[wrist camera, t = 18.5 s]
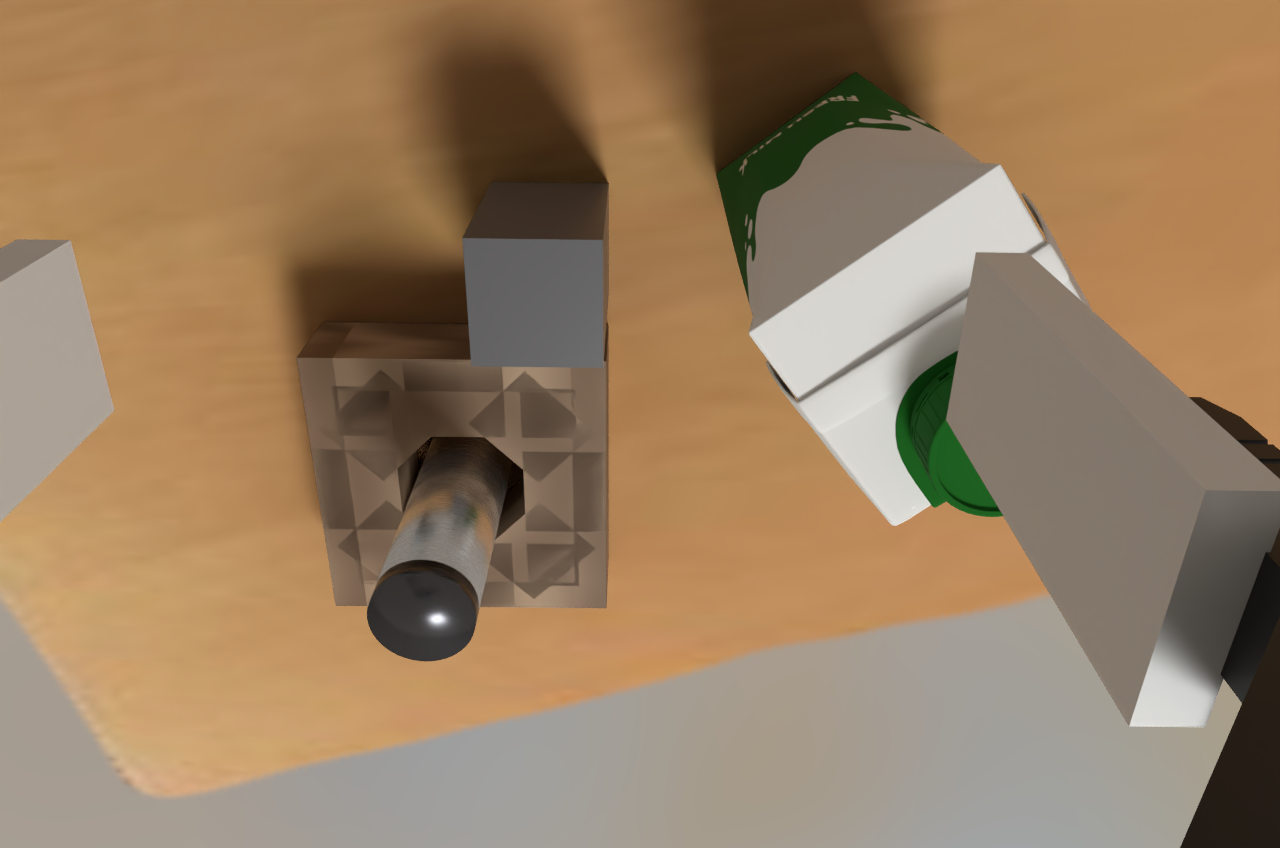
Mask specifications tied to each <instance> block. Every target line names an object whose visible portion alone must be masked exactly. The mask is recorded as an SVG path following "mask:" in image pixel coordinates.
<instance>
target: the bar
mask: <svg viewBox="0 0 1280 848" xmlns="http://www.w3.org/2000/svg"><path fill="white" fill-rule="evenodd" d="M462 239H463V253H464V268H465V282H466V296H467V311H468V325H469V339H470V354H471V366H486V367H567V368H603V365H604V351H605V337H606V323H607V309H608V295H609V183H542V182H491V183H490V185H489V187H488V189H487V191H486V193H485V195H484V197H483V199H482V201H481V203H480V205H479V207H478V209H477V211H476V213H475V215H474V217H473V219H472V220H471V222H470V224H469V226H468V228H467V230H466V232H465V234H464V236H463V238H462Z"/></svg>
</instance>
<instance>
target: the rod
mask: <svg viewBox="0 0 1280 848" xmlns="http://www.w3.org/2000/svg"><path fill="white" fill-rule="evenodd" d="M512 463H513V461H512V460H511V459H510V458H508V457H507V456H506V455H505V454H504V453H503V452H501V451H500V450H499V449H498V448H497V447H495V446H494V445H493V444H492V443H491V442H489V441H488V440H487V439H486V438H485V437H433V438H432V441H431V444H430V446H429V449H428V451H427V454H426V457H425V459H424V462H423V464H422V467H421V470H420V472H419V475H418V477H417V480H416V482H415V485H414V488H413V490H412V493H411V495H410V498H409V501H408V503H407V506H406V508H405V511H404V514H403V516H402V519H401V521H400V524H399V526H398V529H397V532H396V534H395V537H394V539H393V542H392V545H391V547H390V550H389V552H388V555H387V558H386V560H385V563H384V565H383V568H382V570H381V573H380V576H379V578H378V581H377V583H376V586H375V589H374V591H373V594H372V596H371V599H370V602H369V605H368V609H367V620H368V624H369V627H370V629H371V631H372V633H373V635H374V636H375V637H376V639H377V640H378V641H379V642H380V643H381V644H382V645H383V646H384V647H386V648H387V649H388V650H390V651H391V652H393V653H395V654H397V655H399V656H402V657H404V658H408V659H411V660H417V661H436V660H441V659H445V658H448V657H451V656H453V655H455V654H457V653H458V652H460V651H461V650H462V649H463V648H464V647H465V646H466V645H467V644H468V643H469V642H470V640H471V638H472V636H473V633H474V630H475V626H476V621H477V617H478V612H479V608H480V604H481V599H482V595H483V591H484V586H485V582H486V577H487V573H488V569H489V564H490V560H491V555H492V551H493V547H494V542H495V538H496V534H497V529H498V525H499V520H500V516H501V512H502V507H503V503H504V498H505V494H506V490H507V485H508V481H509V477H510V472H511V468H512Z"/></svg>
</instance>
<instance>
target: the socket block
mask: <svg viewBox="0 0 1280 848" xmlns="http://www.w3.org/2000/svg"><path fill="white" fill-rule="evenodd" d="M297 363H298V370H299V376H300V382H301V389H302V395H303V401H304V408H305V414H306V420H307V427H308V433H309V439H310V446H311V452H312V458H313V465H314V471H315V477H316V484H317V490H318V496H319V503H320V509H321V515H322V522H323V528H324V534H325V541H326V547H327V553H328V560H329V566H330V572H331V579H332V585H333V591H334V598H335V604H336V606H368V605H369V602H370V599H371V596H372V594H373V591H374V589H375V586H376V583H377V581H378V578H379V576H380V573H381V570H382V568H383V565H384V563H385V560H386V558H387V555H388V552H389V550H390V547H391V545H392V542H393V539H394V537H395V534H396V532H397V529H398V526H399V524H400V521H401V519H402V516H403V514H404V511H405V508H406V506H407V503H408V501H409V498H410V495H411V493H412V490H413V488H414V485H415V482H416V480H417V477H418V475H419V472H420V470H421V469H419V462H418V452H417V450H418V449H419V448H420V447H421V446H422V445H423V444H424V443H425V442H426V441H427V440H428V439H429V438H430V437H485V438H486V439H487V440H488V441H489V442H491V443H492V444H493V445H494V446H495V447H497V448H498V449H499V450H500V451H501V452H503V453H504V454H505V455H506V456H507V457H508V458H510V459H511V460H512V461H513V462H514V463H516V464H517V465H518V466H519V467H520V468H522V469H523V475H524V478H523V479H522V480H521V481H520V482H519V483H518V484H516V485H515V486H514V487H513V488H512V489H511V490H510V491H508V492H507V493H506V494H505V498H504V503H503V507H502V512H501V516H500V520H499V525H498V529H497V534H496V538H495V542H494V547H493V551H492V555H491V560H490V564H489V569H488V573H487V577H486V582H485V586H484V591H483V595H482V599H481V604H480V607H531V608H606V606H607V582H608V326H606V337H605V351H604V365H603V368H567V367H486V366H471V354H470V339H469V325H468V324H439V323H359V322H323V323H322V324H321V325H320V327H319V328H318V329H317V331H316V332H315V334H314V335H313V336H312V338H311V339H310V340H309V342H308V343H307V344H306V346H305V347H304V348H303V350H302V351H301V352H300V354H299V355H298V356H297Z"/></svg>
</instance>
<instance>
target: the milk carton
mask: <svg viewBox="0 0 1280 848" xmlns="http://www.w3.org/2000/svg"><path fill="white" fill-rule="evenodd" d="M716 176H717V180H718V184H719V188H720V192H721V196H722V200H723V204H724V208H725V212H726V217H727V221H728V225H729V229H730V233H731V237H732V241H733V245H734V249H735V253H736V257H737V261H738V265H739V268H740V272H741V275H742V279H743V283H744V286H745V290H746V293H747V297H748V300H749V304H750V308H751V311H752V315H753V319H752V322H751V326H750V330H749V335H750V336H751V338H752V339H753V341H754V342H755V343H756V345H757V346H758V347H759V349H760V350H761V351H762V353H763V354H764V355H765V357H766V358H767V359H768V361H769V362H770V363H771V365H772V366H773V367H774V369H775V370H776V371H777V373H778V374H779V375H780V377H781V378H782V379H783V381H784V382H785V383H786V385H787V386H788V387H789V388H788V387H787V386H786V385H785V383H784V382H783V381H782V379H781V378H780V377H779V375H778V374H777V373H776V371H775V370H774V369H773V367H772V366H771V365H770V363H769V362H768V361H766V364H767V367H768V369H769V371H770V373H771V374H772V376H773V378H774V379H775V381H776V382H777V384H778V385H779V387H780V388H781V390H782V391H783V392H784V394H785V395H786V396H787V398H788V399H789V400H790V402H791V403H792V404H793V406H794V407H795V408H796V409H797V411H798V412H799V413H800V414H801V416H802V417H803V418H804V419H805V420H806V421H807V422H808V423H809V425H810V426H811V427H812V428H813V430H814V431H815V432H816V434H817V435H818V436H819V437H820V439H821V440H822V441H823V443H824V444H825V445H826V447H827V448H828V449H829V450H830V452H831V453H832V454H833V456H834V457H835V458H836V459H837V461H838V462H839V463H840V464H841V466H842V467H843V468H844V469H845V471H846V472H847V473H848V474H849V476H850V477H851V478H852V479H853V480H854V482H855V483H856V484H857V485H858V486H859V487H860V489H861V490H862V491H863V492H864V493H865V494H866V496H867V497H868V498H869V499H870V500H871V501H872V503H873V504H874V505H875V506H876V507H877V509H878V510H879V511H880V512H881V513H882V514H883V516H884V517H885V518H886V519H887V520H888V521H889V523H890V524H891V525H893V526H896V525H899V524H901V523H903V522H904V521H906V520H908V519H910V518H911V517H913V516H914V515H916V514H917V513H919V512H921V511H922V510H924V509H925V508H927V507H928V506H930V505H932V506H933V507H937V506H939V505H941V504H943V503H944V502H946V501H947V502H948V503H949V504H950V505H952V506H954V507H955V508H957V509H959V510H961V511H964V512H966V513H969V514H973V515H978V516H986V517H999V516H1003V515H1002V513H1001V511H1000V510H999V508H998V506H997V505H996V503H995V501H994V499H993V498H992V496H991V494H990V493H989V491H988V489H987V488H986V486H985V484H984V483H983V481H982V479H981V478H980V476H979V474H978V473H977V471H976V469H975V468H974V466H973V464H972V463H971V461H970V459H969V458H968V456H967V454H966V453H965V451H964V449H963V448H962V446H961V444H960V443H959V441H958V439H957V438H956V436H955V434H954V433H953V431H952V429H951V428H950V426H949V424H948V422H947V421H946V417H947V412H948V406H949V400H950V395H951V389H952V383H953V378H954V372H955V366H956V361H957V355H958V349H959V344H960V338H961V333H962V327H963V321H964V316H965V310H966V304H967V299H968V293H969V287H970V282H971V276H972V270H973V265H974V259H975V254H976V252H997V253H1029V254H1030V255H1031V256H1032V257H1033V258H1034V259H1035V260H1036V261H1038V262H1039V263H1040V264H1041V265H1042V266H1043V267H1044V268H1045V269H1046V270H1048V271H1049V272H1050V273H1051V274H1052V275H1053V276H1054V277H1055V278H1056V279H1058V280H1059V281H1060V282H1061V283H1062V284H1063V285H1064V286H1065V287H1067V288H1068V289H1069V290H1070V291H1071V292H1072V293H1073V294H1074V295H1075V296H1077V297H1078V298H1079V299H1080V300H1081V301H1082V302H1083V303H1084V304H1085V305H1087V306H1088V307H1089V308H1090V309H1091V307H1090V305H1089V303H1088V301H1087V299H1086V298H1085V296H1084V294H1083V292H1082V290H1081V289H1080V287H1079V285H1078V283H1077V281H1076V280H1075V278H1074V276H1073V274H1072V272H1071V271H1070V269H1069V267H1068V265H1067V263H1066V262H1065V260H1064V258H1063V256H1062V254H1061V252H1060V250H1059V247H1058V245H1057V243H1056V241H1055V239H1054V237H1053V236H1052V234H1051V232H1050V230H1049V228H1048V227H1047V225H1046V223H1045V222H1044V220H1043V218H1042V217H1041V215H1040V213H1039V212H1038V210H1037V209H1036V207H1035V206H1034V204H1033V203H1032V202H1031V200H1030V199H1029V198H1028V197H1027V196H1026V195H1025V194H1024V193H1022V196H1023V198H1024V200H1025V202H1026V203H1027V205H1028V207H1029V209H1030V210H1031V212H1032V214H1033V216H1034V217H1035V219H1036V221H1037V223H1038V224H1039V226H1040V228H1041V229H1042V231H1043V232H1044V235H1045V238H1046V240H1047V243H1046V241H1045V240H1044V238H1043V236H1042V235H1041V233H1040V231H1039V229H1038V228H1037V226H1036V224H1035V222H1034V221H1033V219H1032V217H1031V215H1030V214H1029V212H1028V210H1027V209H1026V207H1025V205H1024V203H1023V202H1022V200H1021V198H1020V196H1019V195H1018V193H1017V191H1016V190H1015V188H1014V186H1013V184H1012V183H1011V181H1010V179H1009V178H1008V176H1007V174H1006V173H1005V171H1004V169H1003V168H1002V166H1001V165H1000V164H991V163H981V162H980V161H979V160H977V159H976V158H975V157H973V156H972V155H971V154H969V153H968V152H967V151H965V150H964V149H963V148H961V147H960V146H959V145H957V144H956V143H955V142H953V141H952V140H951V139H949V138H948V137H947V136H945V135H944V134H943V133H941V132H940V131H939V130H937V129H936V128H934V127H933V126H931V125H930V124H929V123H927V122H926V121H924V120H923V119H922V118H920V117H919V116H918V115H916V114H915V113H913V112H912V111H911V110H909V109H908V108H906V107H905V106H904V105H902V104H901V103H899V102H898V101H896V100H895V99H893V98H892V97H891V96H889V95H888V94H886V93H885V92H883V91H882V90H880V89H879V88H877V87H876V86H875V85H873V84H872V83H870V82H869V81H867V80H866V79H865V78H863V77H862V76H861V75H859V74H858V73H857V72H855V73H853V74H852V75H851V76H849V77H848V78H846V79H845V80H844V81H842V82H841V83H840V84H838V85H837V86H836V87H834V88H833V89H831V90H830V91H829V92H827V93H826V94H825V95H823V96H822V97H821V98H819V99H818V100H816V101H815V102H814V103H812V104H811V105H810V106H808V107H807V108H806V109H804V110H803V111H801V112H800V113H799V114H797V115H796V116H795V117H793V118H792V119H790V120H789V121H788V122H786V123H785V124H784V125H782V126H781V127H780V128H778V129H777V130H775V131H774V132H773V133H771V134H770V135H769V136H767V137H766V138H765V139H763V140H762V141H760V142H759V143H758V144H756V145H755V146H754V147H752V148H751V149H750V150H748V151H747V152H745V153H744V154H743V155H741V156H740V157H739V158H737V159H736V160H735V161H733V162H732V163H730V164H729V165H728V166H726V167H725V168H724V169H722V170H721V171H719V172H718V173H717V174H716ZM1091 310H1092V309H1091ZM789 389H790V390H791V391H792V393H793V394H794V395H795V397H796V398H797V399H798V400H799V401H797V400H796V399H795V397H794V396H793V394H792V393H791V391H790V390H789Z"/></svg>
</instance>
